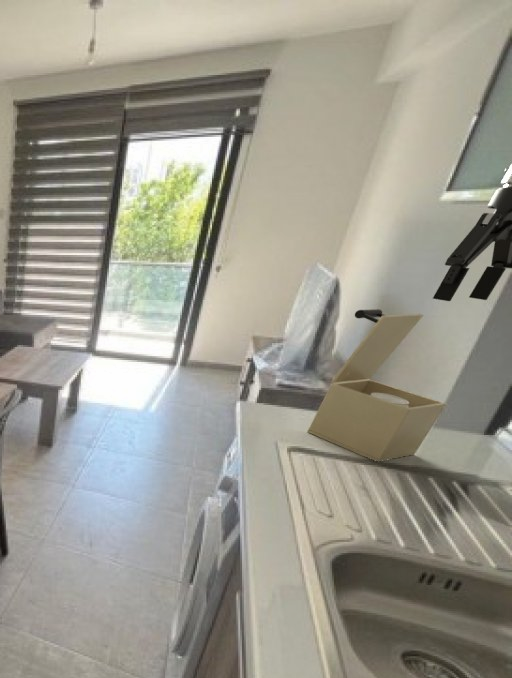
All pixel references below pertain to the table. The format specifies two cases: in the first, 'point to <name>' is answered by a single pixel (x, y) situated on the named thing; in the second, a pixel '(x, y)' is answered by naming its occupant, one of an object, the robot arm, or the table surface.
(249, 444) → the table surface
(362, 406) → the tan box
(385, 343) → the box lid
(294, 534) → the table surface
